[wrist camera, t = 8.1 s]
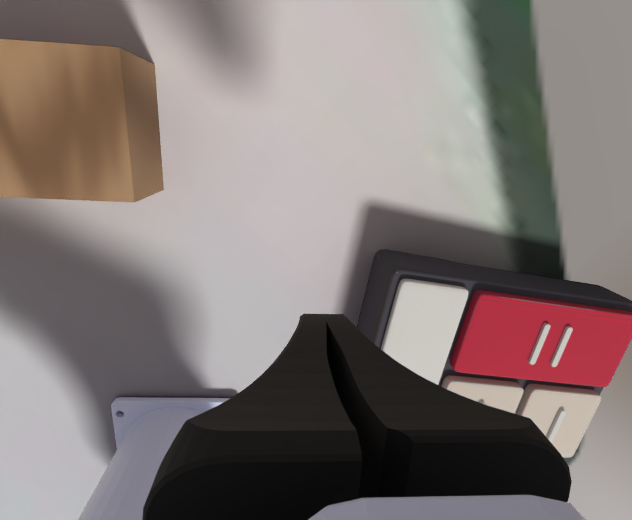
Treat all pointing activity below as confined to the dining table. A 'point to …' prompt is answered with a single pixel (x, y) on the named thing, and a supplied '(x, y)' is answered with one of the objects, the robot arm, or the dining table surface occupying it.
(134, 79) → the walnut block
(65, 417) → the dining table surface
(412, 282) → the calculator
